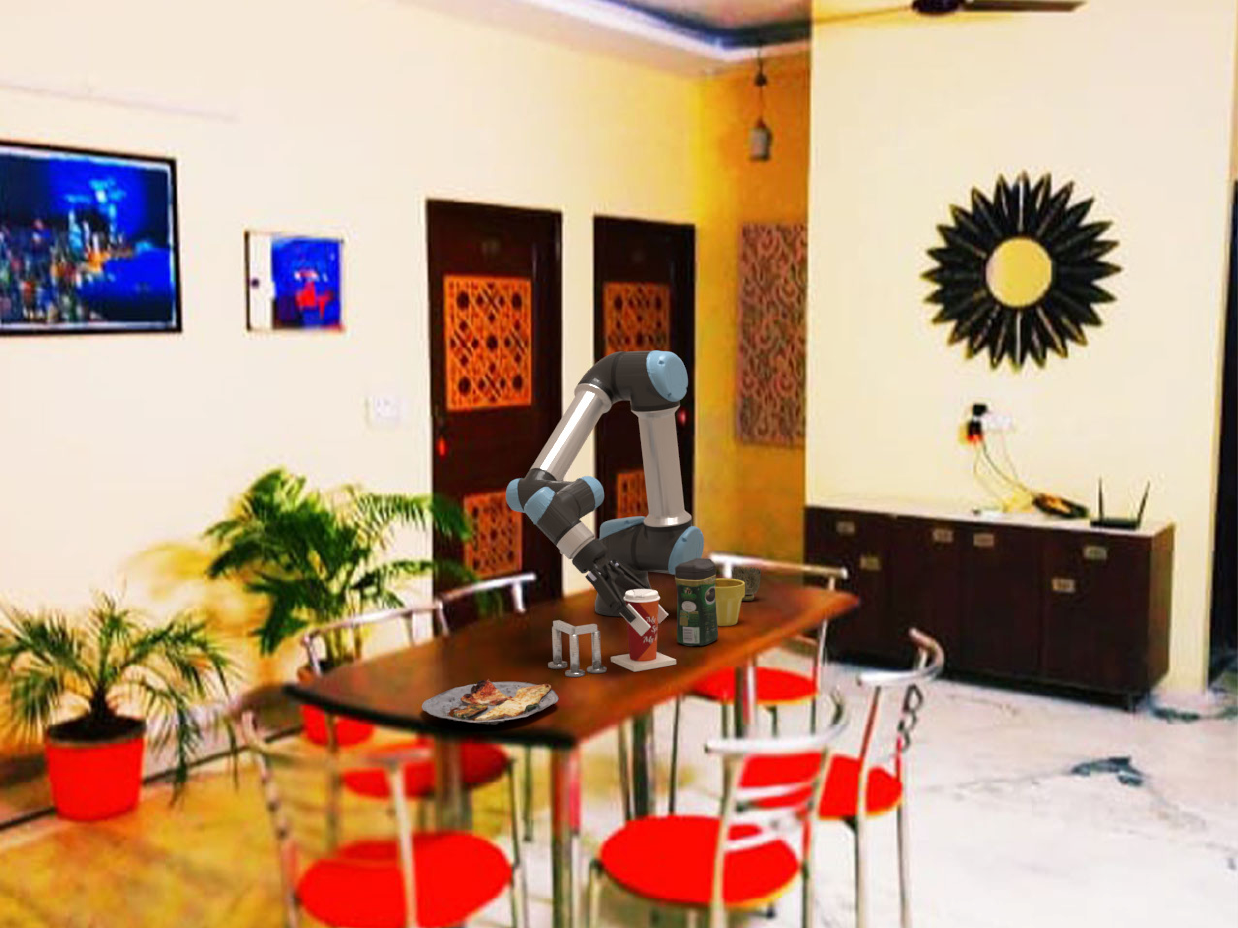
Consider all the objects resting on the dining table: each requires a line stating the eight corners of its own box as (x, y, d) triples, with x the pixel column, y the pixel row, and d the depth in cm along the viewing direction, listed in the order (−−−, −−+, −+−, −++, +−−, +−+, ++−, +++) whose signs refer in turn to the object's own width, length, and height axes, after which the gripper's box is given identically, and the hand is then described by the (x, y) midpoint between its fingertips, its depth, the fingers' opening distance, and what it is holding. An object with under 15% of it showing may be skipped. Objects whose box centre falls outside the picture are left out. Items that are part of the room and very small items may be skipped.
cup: (741, 596, 336) (741, 565, 335) (766, 598, 332) (766, 568, 331) (726, 601, 330) (726, 570, 329) (752, 604, 326) (751, 572, 325)
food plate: (481, 685, 258) (480, 668, 257) (581, 700, 246) (580, 682, 246) (399, 723, 236) (398, 704, 236) (505, 741, 225) (504, 721, 224)
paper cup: (657, 663, 267) (656, 596, 266) (621, 662, 269) (619, 595, 267) (664, 653, 275) (662, 588, 273) (628, 652, 276) (627, 587, 275)
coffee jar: (691, 635, 295) (689, 554, 293) (722, 638, 291) (721, 557, 289) (670, 644, 287) (668, 561, 285) (702, 648, 283) (700, 564, 281)
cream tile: (610, 661, 274) (610, 656, 274) (651, 654, 278) (651, 649, 278) (634, 671, 265) (634, 666, 265) (676, 664, 270) (676, 659, 270)
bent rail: (544, 665, 272) (543, 620, 271) (583, 659, 276) (581, 614, 275) (570, 678, 261) (569, 630, 260) (610, 671, 266) (608, 624, 265)
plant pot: (753, 625, 303) (752, 583, 302) (712, 629, 300) (711, 588, 299) (734, 616, 313) (733, 576, 312) (694, 620, 309) (693, 580, 308)
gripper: (591, 551, 286) (660, 624, 282) (550, 571, 264) (624, 650, 260) (613, 528, 283) (683, 601, 280) (573, 546, 262) (648, 625, 258)
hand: (655, 625), depth 270 cm, fingers open, 11 cm apart
